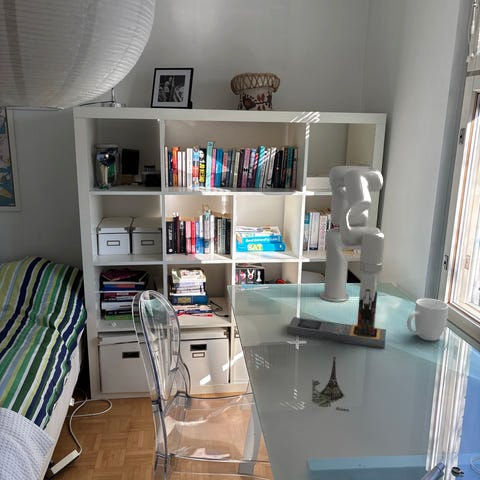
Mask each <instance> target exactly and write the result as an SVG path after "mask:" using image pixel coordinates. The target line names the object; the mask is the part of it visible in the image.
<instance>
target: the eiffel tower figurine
mask: <svg viewBox="0 0 480 480" xmlns="http://www.w3.org/2000/svg"><path fill="white" fill-rule="evenodd" d="M332 359H333V361H332V366H331V367H332V369H331V373H330V377H329V379H328V383H327V384H325V387H324V388H323V389H322V391H319V390H318V389H316V387H317V386H319V385H320V384H321V382H320V381H319V380H313V379H312V398H311V399H312V400H311V402H312V403H313V404H316V405H317V406H318V407H322V408H329V407H332V406H331V403H335V402H337V401H339V400H341V399H343V398H346V395H345V394H344V393H343V391H342V390H341V386H339V384H338V381H337V380H338V379H337V373H336V371H337V370H336V369H337V367H336V360H337V357H336V355H334V356H333V358H332ZM335 411H349V412H350V409H348V408H342V407H341V408H340V407H339V406H336V408H335Z"/></svg>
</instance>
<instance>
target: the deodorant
mask: <svg viewBox="0 0 480 480" xmlns="http://www.w3.org/2000/svg"><path fill="white" fill-rule="evenodd" d="M358 296H360V294H359V295H358ZM377 298H378V291H377V290H376V292H375V296H374V300H373V301H372V302H371V309H372V311H371V320H364V319H361V315H362V308H363V300H360V299H359V298H358V307H357V308H358V309H357V324H356V325H357V332H358V333H360V334H363V335H362V336H365V335H372V334H374V327H375V326H376V325H375V324H376V313H377V300H378V299H377ZM363 299H364V298H363ZM369 300H371V299H370V298H369ZM369 304H370V302H369Z"/></svg>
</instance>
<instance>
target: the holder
mask: <svg viewBox="0 0 480 480" xmlns="http://www.w3.org/2000/svg"><path fill="white" fill-rule="evenodd" d="M386 333H387V329H384V328H380V327H375V326H374V334H372V335H363V334H360V333H358V332H357V324H349V323H348V324H347V323H340V322H333V321H325V320H319V319H311V318H305V317H304V318H303V317H297V316H295V317H294V316H293V318H292V319H291V321H290V323H289V324H288V326H287V335H290V336H296V337H304V338H310V339H316V338H317V340H324V341H329V340H330V342H336V341H337V343H344V344H350V345H351V344H352V345H358V346H365V347H372V348H378V349H385V348H386V347H385V345H386V335H387V334H386Z"/></svg>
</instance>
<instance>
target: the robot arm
mask: <svg viewBox="0 0 480 480" xmlns="http://www.w3.org/2000/svg"><path fill="white" fill-rule="evenodd" d="M328 177H329V179H328V180H329V185H330V188H331V196H332V197H331V206H330V222H331V224H332V225H335V226H337V227H333V228H330V229H328V230H327V231H326V232H325V235H324V236H325V237H324V239H325V250H326V252H325V254H326V255H325V270H324V271H325V273H324V286H323V287H324V289H323V290H324V291H322V292H320V298H321V299H323V300H325V301H328V302H334V303H342V302H347V301H349V300H350V295H349V294H348V293H347V280H348V266H349V259H348V257H347V256H346V254H345V252H344V251H360V253H359V254H360V255H359V265H358V266H359V268H358V271H359V272H360V273H361V279H360V285H359V286H360V288H359V295H360V296H359V295H358V296H359V297H358V300H359V299H360V300H363V308H362V315H361V319H364V320H371V311H372V309H371V302H372V301H373V300H374V296H375V292H376V291H377V284H378V277H379V274H382V270H383V257H384V248H385V247H384V246H385V235H384V233H383V232H381V230H380V229H379V228H378V227H376V226H369V210H368V209H370V208H371V207H372V199H371V195H370V194H371V193H370V192H379V191H380V190H381V189H382V188H383V184H384V180H383V179H384V178H383V175H382V173H381V171H380V170H378V169H377V168H374V167H372V166H369V165H368V166H364V165H363V166H361V165H338V166H334V167H332V168H330V171H329V174H328ZM338 226H339V227H338ZM363 298H364V299H363ZM369 298H370V299H371V300H369ZM369 302H370V304H369Z"/></svg>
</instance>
